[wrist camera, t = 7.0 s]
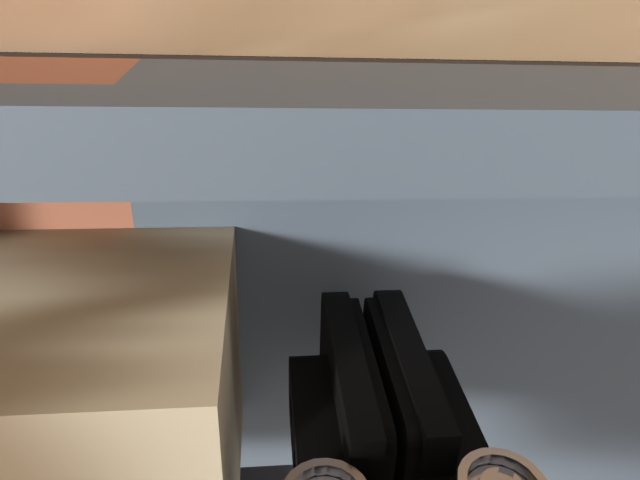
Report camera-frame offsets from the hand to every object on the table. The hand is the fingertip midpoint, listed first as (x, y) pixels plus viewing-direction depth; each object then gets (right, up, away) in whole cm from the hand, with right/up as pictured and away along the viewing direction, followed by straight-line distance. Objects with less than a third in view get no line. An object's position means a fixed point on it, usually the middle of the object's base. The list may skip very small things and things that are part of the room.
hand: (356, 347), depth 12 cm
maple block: (-5, 0, 0) cm, 5 cm away
